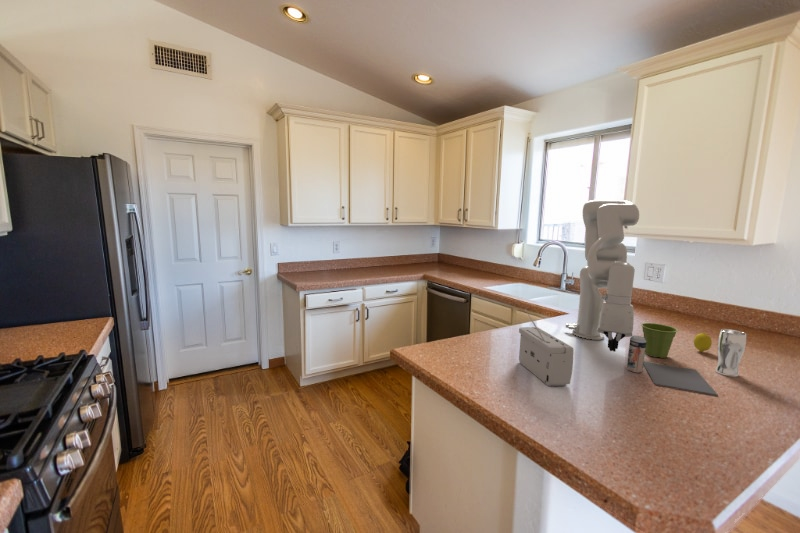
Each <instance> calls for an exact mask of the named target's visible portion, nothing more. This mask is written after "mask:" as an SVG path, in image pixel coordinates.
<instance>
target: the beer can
mask: <svg viewBox="0 0 800 533" xmlns="http://www.w3.org/2000/svg"><path fill="white" fill-rule="evenodd" d="M628 344H629V345H628V353H627V354H628V355H627V361H626V370H628V371H629V372H631V371H632V372H631V373H635V372H636V374H637V373H638V374H640V373H642V372H643V371H644V370H643V368H644V365H643V363H644V362H645V355H646V353H645V347H646V340H645V338H644V336H641V335H632V336H631V337H629V343H628Z"/></svg>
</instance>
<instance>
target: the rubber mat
mask: <svg viewBox="0 0 800 533" xmlns="http://www.w3.org/2000/svg"><path fill="white" fill-rule="evenodd" d="M643 368H644V369H645V371H646V372H647V375H648V376H649V378H650V379H651V381H652V383H653V385H654V386H658V387H663V388H664V387H665V388H670V389H676V390H682V391H686V392H693V393H698V394H704V395H709V396H715V397H718V396H719V394H718V393H717V392H716V390H714V388H713V387H712V386H711V385H710V384H709V383H708V382H707V380H705V378H704V377H703V376H702V375H701V374H700V373H699V372H698V371H697V369H693V368H688V367H681V366H675V365H668V364H663V363H658V362H650V361H649V362H648V361H644V363H643Z"/></svg>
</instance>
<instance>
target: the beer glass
mask: <svg viewBox="0 0 800 533" xmlns="http://www.w3.org/2000/svg"><path fill="white" fill-rule="evenodd" d="M746 345H747V333H746V332H744V331H739V330H736V329H729V328H722V329H720V332H719V336H718V340H717V357H718V358H717V365H716V367H715V368H714V371H715V372H716V373H717V374H720V375H723V376H726V377H731V378H737V377H739V366H740V361H741V360H742V357H743V355H744V352H745V349H746Z"/></svg>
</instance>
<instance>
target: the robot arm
mask: <svg viewBox="0 0 800 533" xmlns="http://www.w3.org/2000/svg"><path fill="white" fill-rule="evenodd" d="M582 219H583V223H584V227H585V244H584V246H585V247H584V258H585V261H586V264H587V266H586V265H585V266H584V267H582V268H581V269H580V271H579V284H580V286H579V287H580V289H579V290H580V291H579V303H578V310H577V311H578V312H577V322H575V323H573V324H571V323H565V328H567V329H569V330H572V335H574V336H575V335H576V336H575V337H578V336H579V337H578V338H580V337H582V338H581V339H584V338H586V340H590V339H592V340H593V341H599V340H601V341H602V340H603V339H604V338H605V337H606V338H608V339H607V348H608V349H609V351H610V352H613V353H615V352H616V350H618V349H619V342H620V341H621V340H622V339H624V338H631V337H632V336H633V331H634V320H635V319H634V318H635V312H634V305H633V304H631V303H632V294H633V287H634V280H635V267H634V266H633V265H632V264H630V263H629V262H627V259H628V250H627V247H626V245H625V244H624V243H622V242H623V241H624V240H625V234H624V227H623V226H625V227H626V226H629V227H631V226H632V227H633V226H635V225H637V224H638V222H639V220H640V211H639V208H638V206H637V205H636V204H635V203H633V202H631V201H628V200H622V199H621V200H620V199H619V200H617V199H615V200H614V199H593V200H589V201H587V202H585V203H584V204H583V206H582ZM599 289H606V293H605V294H602V293H601V291H600V290H599ZM613 333H614V334H615V336H614V338H613ZM592 340H591V341H592Z"/></svg>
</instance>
